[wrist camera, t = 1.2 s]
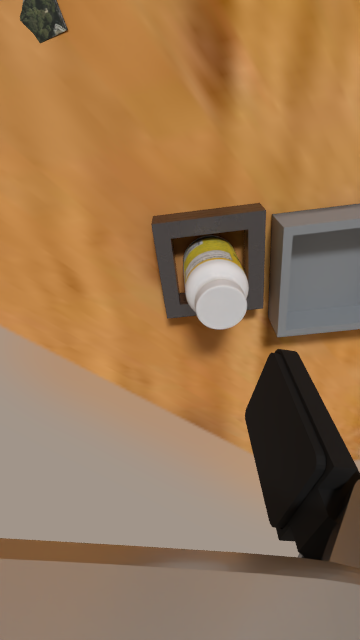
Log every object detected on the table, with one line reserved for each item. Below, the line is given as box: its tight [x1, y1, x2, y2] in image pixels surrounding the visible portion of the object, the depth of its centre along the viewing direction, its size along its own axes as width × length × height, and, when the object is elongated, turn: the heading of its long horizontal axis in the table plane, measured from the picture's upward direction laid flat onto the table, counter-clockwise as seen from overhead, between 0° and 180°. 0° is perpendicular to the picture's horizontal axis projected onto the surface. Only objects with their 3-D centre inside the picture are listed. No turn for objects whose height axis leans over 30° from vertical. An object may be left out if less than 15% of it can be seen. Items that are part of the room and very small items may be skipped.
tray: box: [268, 204, 360, 337], centre depth 31 cm, size 12×12×4 cm
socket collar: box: [151, 203, 266, 318], centre depth 32 cm, size 10×10×2 cm
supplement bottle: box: [183, 235, 249, 329], centre depth 29 cm, size 5×5×10 cm
